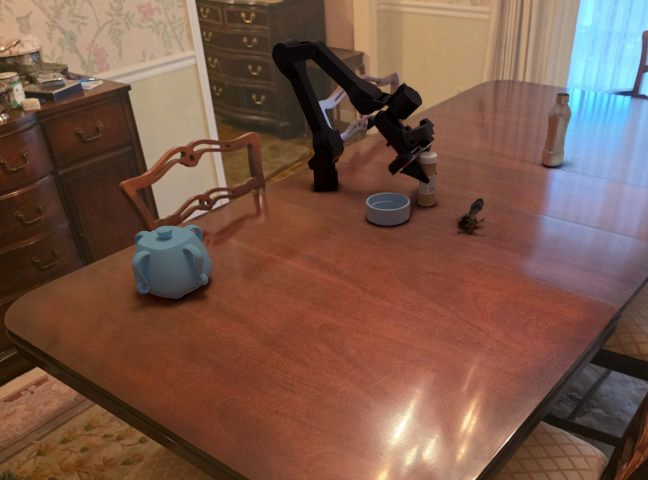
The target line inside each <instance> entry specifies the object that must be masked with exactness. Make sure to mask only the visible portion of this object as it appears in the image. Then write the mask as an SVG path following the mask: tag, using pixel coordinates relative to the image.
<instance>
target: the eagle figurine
mask: <svg viewBox="0 0 648 480" xmlns="http://www.w3.org/2000/svg"><path fill="white" fill-rule="evenodd" d="M484 204H485V203H484V199H483V198H482V197H479V198H477V199H475V201H473V202H472V203H471V204H470V207H469V211H468V213H467V212H464V213H462V214H460V215H459V216H458V217H457V218H456V221H457V222H458V223H461V222H462V221H464V222H465V223H466V224H465V225H464V226H465V227H467V228H468V231H467V234H468V235H469V234H470V233H471V231H473V230H474V228H475V227H478V228H480V224H481V223H482V222H484V221H485V220H486V217H483V218H481V219H479V220H478V219H477V215H478V214H479V212H481V211H482V210H483V208H484Z"/></svg>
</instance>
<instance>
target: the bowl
mask: <svg viewBox="0 0 648 480" xmlns="http://www.w3.org/2000/svg"><path fill="white" fill-rule="evenodd" d="M365 217H366V219H367V220H368V221H369V222H370V223H373V224H375V225H378V226H383V227H391V226H397V225H400V224H403V223H405V222H406V221H408V220H409V218H410V217H411V199H410V198H409V197H408V196H407V195H405V194H402V193H397V192H378V193H375V194H372V195H370V196H369V197H367V198H366V200H365Z"/></svg>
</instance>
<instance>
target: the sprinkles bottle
mask: <svg viewBox="0 0 648 480" xmlns="http://www.w3.org/2000/svg"><path fill="white" fill-rule="evenodd" d="M419 162H420V166H421V167H422V169H423V170H424V172H425V173H426V175H427V176H428V178H429V180H430V182H429V183H428V184H426V183H424V182H421V181H419V180H418V201H417V204H418V205H420V206H421V207H432V206H434V205H435V203H436V201H435V198H436V196H435V195H436V187H437V186H436V185H437V175H436V172H437V163H438V153H436V152H434V151H430V152H422V153H421V154H420V156H419Z"/></svg>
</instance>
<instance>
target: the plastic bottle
mask: <svg viewBox="0 0 648 480" xmlns="http://www.w3.org/2000/svg"><path fill="white" fill-rule="evenodd" d="M570 96H571V95H570V93H568V92H558V93H556V96H555V99H554V104H553V105H552V107H551V108H550V109H549V112H548V115H547V133H546V138H545V143H544V148H543V149H542V153H541V162H542V164H543V165H545V166H547V167H558V166H560V165H561V164H562V163H563V161H564V160H565V159H564V158H565V143H566V136H567V132H568V128H569V126H570V125H569V124H570V121H571V117H572V109H571V107H570V105H569V102H570V98H571V97H570Z"/></svg>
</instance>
